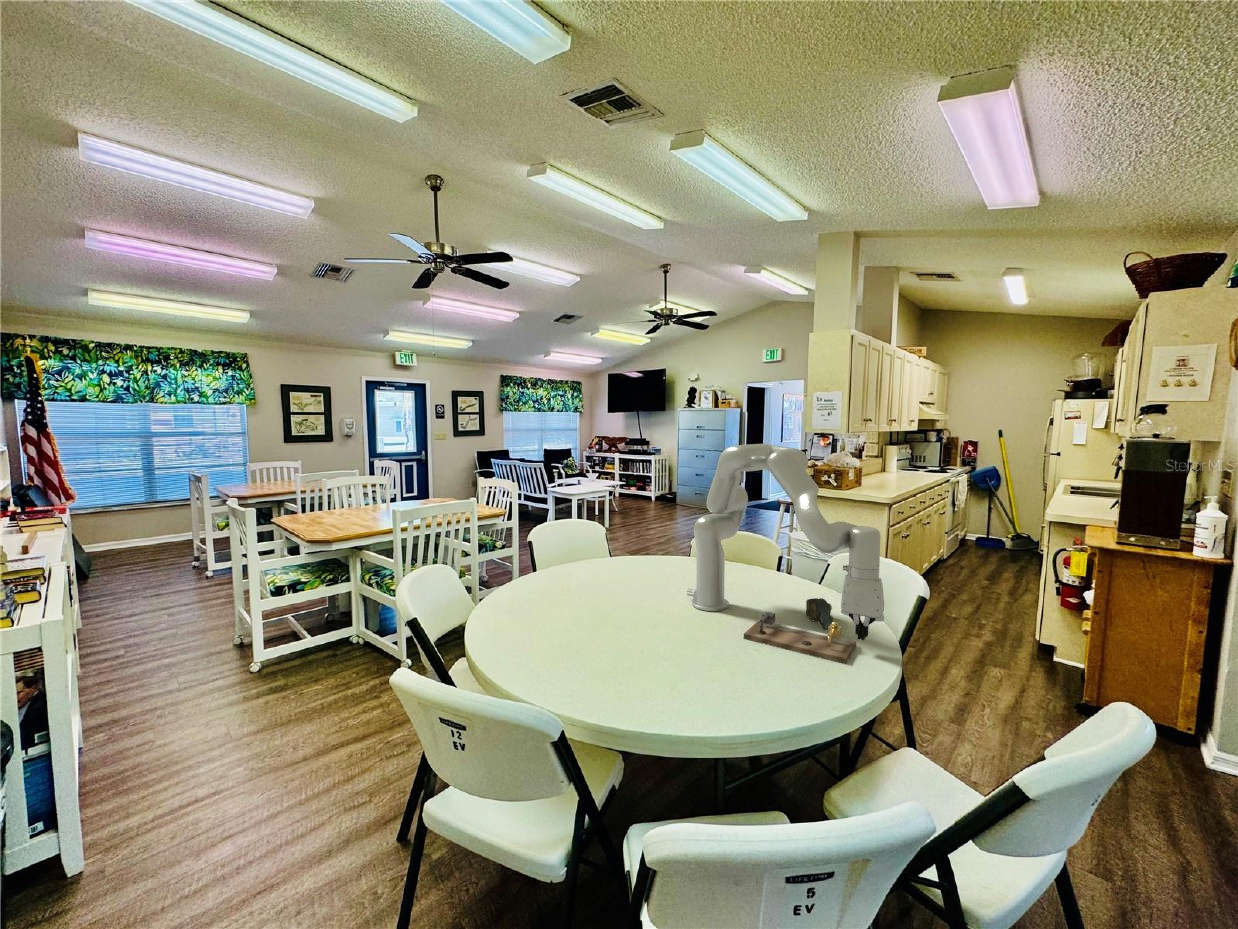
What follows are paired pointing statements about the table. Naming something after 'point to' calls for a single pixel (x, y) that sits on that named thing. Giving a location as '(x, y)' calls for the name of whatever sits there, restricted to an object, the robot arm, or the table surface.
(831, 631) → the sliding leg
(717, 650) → the table surface
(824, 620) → the sculpture
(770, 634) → the plate
